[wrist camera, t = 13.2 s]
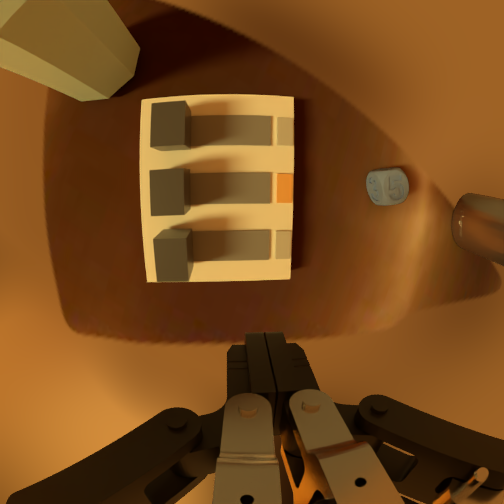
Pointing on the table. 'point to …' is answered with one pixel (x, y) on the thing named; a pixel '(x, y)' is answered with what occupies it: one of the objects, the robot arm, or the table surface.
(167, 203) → the block
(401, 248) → the table surface
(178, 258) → the block
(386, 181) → the decorative dice
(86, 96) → the water bottle
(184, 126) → the block
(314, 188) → the table surface
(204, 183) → the breaker panel
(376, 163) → the table surface
